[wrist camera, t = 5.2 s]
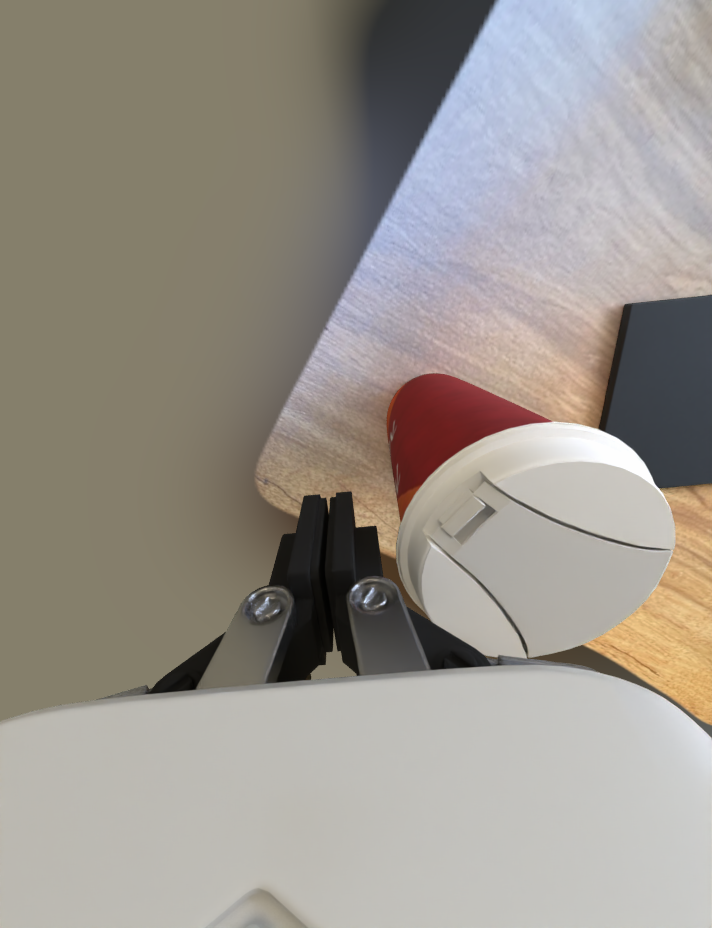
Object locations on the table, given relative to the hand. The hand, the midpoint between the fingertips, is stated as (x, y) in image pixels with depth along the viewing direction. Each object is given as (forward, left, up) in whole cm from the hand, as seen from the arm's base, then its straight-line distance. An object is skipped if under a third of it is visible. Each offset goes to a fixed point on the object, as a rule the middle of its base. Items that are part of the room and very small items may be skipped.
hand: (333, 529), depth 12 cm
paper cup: (+6, +1, -11) cm, 12 cm away
